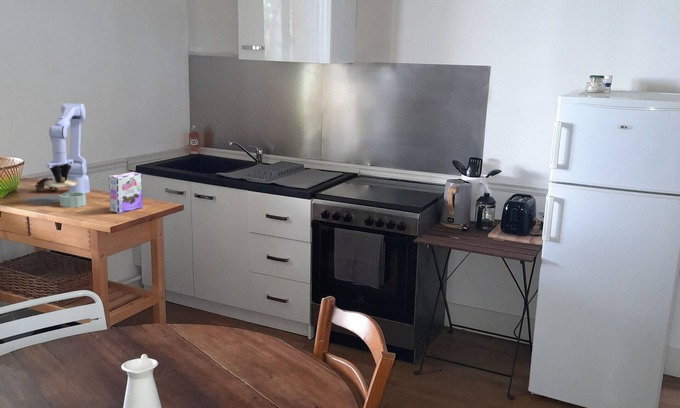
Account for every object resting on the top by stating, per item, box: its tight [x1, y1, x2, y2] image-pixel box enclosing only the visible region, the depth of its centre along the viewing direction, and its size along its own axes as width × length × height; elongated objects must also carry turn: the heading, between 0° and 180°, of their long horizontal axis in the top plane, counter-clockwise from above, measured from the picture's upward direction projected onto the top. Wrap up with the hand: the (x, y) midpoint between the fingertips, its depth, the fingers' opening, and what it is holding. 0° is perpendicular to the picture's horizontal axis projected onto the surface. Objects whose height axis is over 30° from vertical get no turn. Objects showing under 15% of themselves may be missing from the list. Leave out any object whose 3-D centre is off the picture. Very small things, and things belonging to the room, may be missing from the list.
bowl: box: [58, 191, 87, 209], centre depth 291 cm, size 11×11×5 cm
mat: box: [21, 193, 60, 206], centre depth 298 cm, size 16×16×1 cm
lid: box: [44, 177, 78, 189], centre depth 292 cm, size 14×14×3 cm
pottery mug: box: [34, 177, 59, 193], centre depth 315 cm, size 12×10×8 cm
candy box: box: [108, 171, 143, 214], centre depth 286 cm, size 14×6×16 cm, turn 148°
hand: (61, 181), depth 292 cm, fingers closed on lid, 3 cm apart
